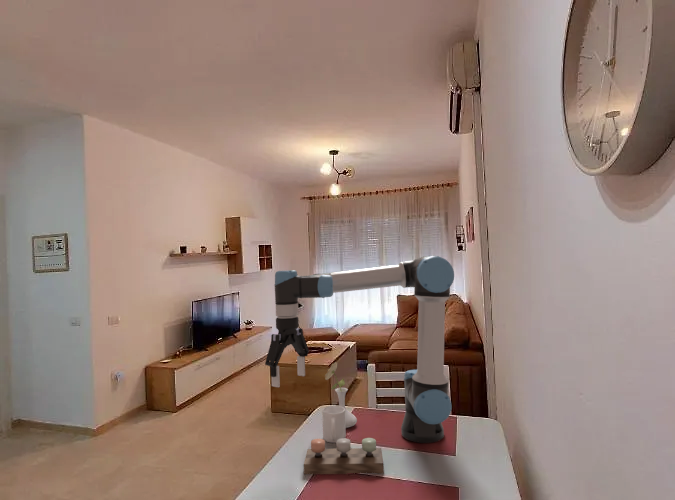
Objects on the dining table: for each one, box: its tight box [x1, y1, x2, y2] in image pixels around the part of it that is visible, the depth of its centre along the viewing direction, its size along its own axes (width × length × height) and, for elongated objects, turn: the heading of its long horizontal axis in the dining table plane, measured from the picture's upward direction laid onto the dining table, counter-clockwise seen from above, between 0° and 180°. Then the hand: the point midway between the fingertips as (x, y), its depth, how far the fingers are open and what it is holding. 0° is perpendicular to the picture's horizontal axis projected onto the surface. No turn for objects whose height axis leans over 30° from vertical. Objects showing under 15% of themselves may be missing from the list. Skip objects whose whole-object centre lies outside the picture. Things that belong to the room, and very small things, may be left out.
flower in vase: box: [324, 361, 358, 429], centre depth 159 cm, size 13×11×25 cm
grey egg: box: [335, 437, 352, 456], centre depth 127 cm, size 4×4×4 cm
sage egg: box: [361, 437, 377, 456], centre depth 127 cm, size 4×4×4 cm
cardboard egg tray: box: [303, 447, 385, 475], centre depth 127 cm, size 24×10×3 cm, turn 88°
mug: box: [321, 405, 347, 444], centre depth 145 cm, size 12×8×10 cm
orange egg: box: [310, 438, 326, 456], centre depth 128 cm, size 4×4×4 cm
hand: (289, 380), depth 135 cm, fingers open, 13 cm apart
